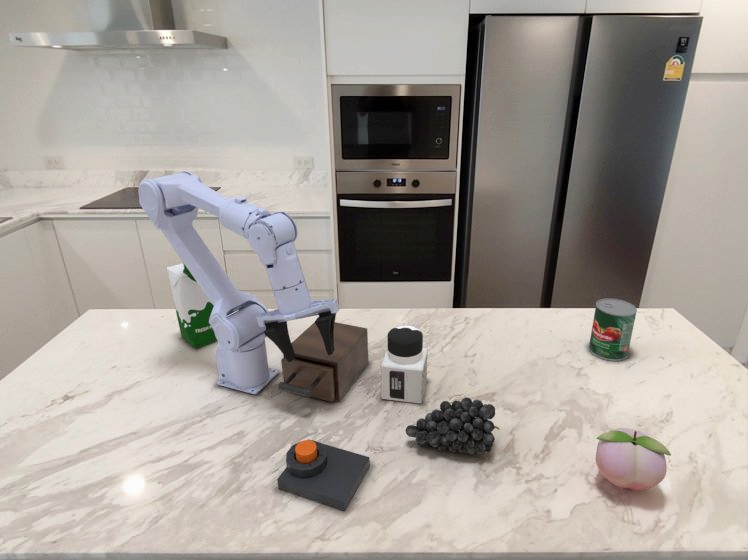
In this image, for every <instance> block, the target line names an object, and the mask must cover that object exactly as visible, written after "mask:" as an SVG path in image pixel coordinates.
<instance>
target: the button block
mask: <svg viewBox="0 0 748 560" xmlns="http://www.w3.org/2000/svg"><path fill="white" fill-rule="evenodd" d="M307 440H311V441H313V442H315V444H316V446H317V458H316V460H315V461H313V462H311V463H308V464H302V463H299V462H298V461H297V460H296V452H295V447H296V445H297V444H298V443H299V442H297V443H295V444H292V445H291V446H290V448H289V449H288V450H287V452H286V454H285V463H286V467H285V468H284V470H282V473H281V474H280V475H279V476H278V477H277V479H276V481H277V488H278V490H282V491H283V492H287V493H290V494H293V495H296V496H298V497H302V498H305V499H307V500H310V501H313V502H317V503H319V504H322V505H326V506H329V507H331V508H334V509H337V510H340V511H342V512H346V510H347V508H348V506H349V504H350V503H351V500H352V499H353V497H354V495H355V493H356V492H357V490H358V488H359V486H360V485H361V483H362V481H363V479H364V477H365V476H366V475H367V472H368V470H369V469H370V466H371V464H370V462H371V461H370V456H366V455H365V454H359V453H356V452H354V451H349V450H347V449H343V448H339V447H337V446H333V445H329V444H325V443H322V442H320V441H316V440H312V439H307Z"/></svg>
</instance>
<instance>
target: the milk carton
mask: <svg viewBox="0 0 748 560" xmlns="http://www.w3.org/2000/svg"><path fill="white" fill-rule="evenodd" d="M166 271H167V276H168V279H169V284H170V288H171V293H172V294H171V295H172V298H173V303H174V304H173V305H174V308H175V313H176V318H177V323H178V327H179V331H180V335H181V338H182V339H183V340H184V341H185V342H186V343H187V344H189V345H190V346H191V347H192V348H193V349H195V350H197V349H199V348H202V347H204V346H206V345H209V344H212V343H214V342H218V340H217V339H216V336H215V333H214V330H213V328H212V326H211V325H210V323H209V319H210V315H211V313H212V310H213V307H214V305H213V304H212V303H211V301H210V300H209V298H208V297H207V295H206V294H205V293H204V291H203V290H202V288H201V287H200V286H199V284H198V283H197V281H196V280H195V278H194V277H193V276H192V274H191V273H190V271H189V270H188V268H187V267H186V266H185V264H184V263H183V262H182V263H179V264H175V265H172V266H166Z"/></svg>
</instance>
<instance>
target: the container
mask: <svg viewBox="0 0 748 560" xmlns="http://www.w3.org/2000/svg"><path fill="white" fill-rule="evenodd" d="M386 337H387V348H386V351H385V354H384V357H383V359H382V362H381V365H380V380H381V383H380V384H381V385H380V387H381V388H380V389H381V399H382V400H388V401H395V402H404V403H413V404H422V403H423V400H424V395H425V390H426V385H427V380H428V379H427V378H428V348H427V347H424V346H423V344H424V343H423V341H424V334H423V332H422V331H421V330H420V329H419V328H417V327H415V326H412V325H398V326H395V327H393V328H391V329H389V331H388V332H387V336H386Z"/></svg>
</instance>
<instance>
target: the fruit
mask: <svg viewBox="0 0 748 560" xmlns="http://www.w3.org/2000/svg"><path fill="white" fill-rule="evenodd" d="M495 416H496V407H495V406H494V405H493V404H492V403H491V404H490V403H488V404H487V403H483V402H482V400H479V399H474V400H472V399H471V398H470V397H463V398H462V399H461V401H460V400H454V401H452V402H449V400H443V401H442V402H441V403H440V404H439V409H437V408H435V409H433V410H431V412H427V413H426V415H425V417H424V418H419V419H417V421H416V424H415V425H413V424H410V425H407V426H406V428H405V435H407V437H410V438H415V443H416V445H418V446H419V447H421V448H422V447H425V446H426V445H430V447H433V448H437V449H438V451H440V452H446V451H447V449H449V451H450V452H452V453H455V452H457V451H458V452H459V453H461V454H468V455H470V456H471V455H474V454H475V453H477V454H479V455H481V454H484V453H490V452H492V450H493V446H494V443H495V439H496V438H495V436H494V434H493V433H492V432H493V431H494V430H495V429H496V430H499V431H500V430H501V429H500V427H499V426H497V425H495V424H494V422H493V421H492V420H493V418H495Z"/></svg>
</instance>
